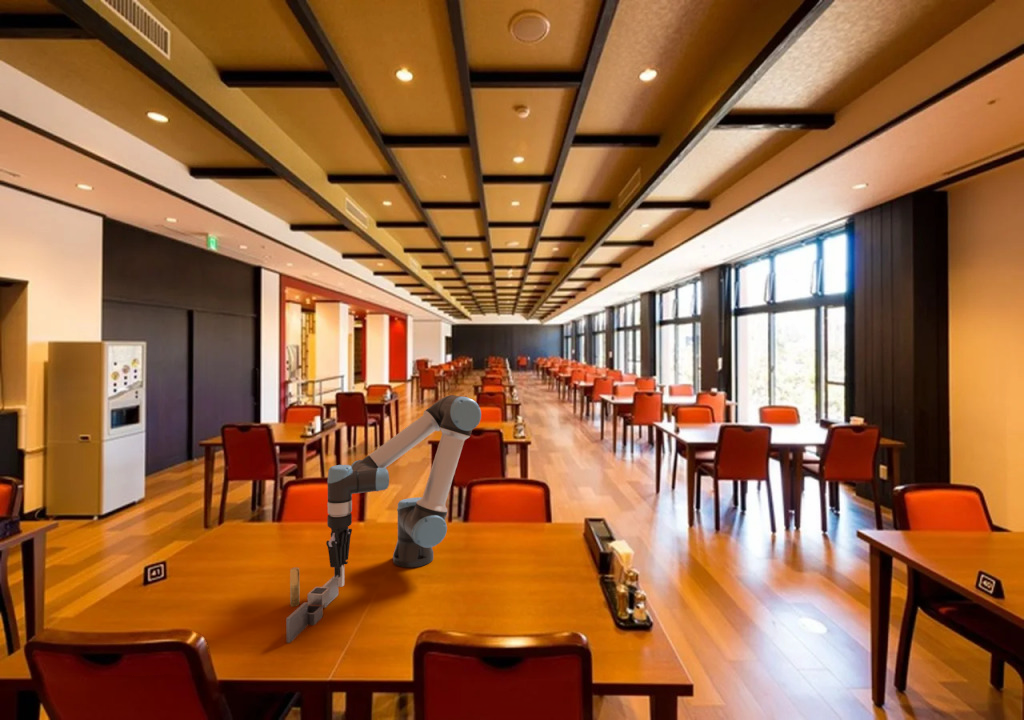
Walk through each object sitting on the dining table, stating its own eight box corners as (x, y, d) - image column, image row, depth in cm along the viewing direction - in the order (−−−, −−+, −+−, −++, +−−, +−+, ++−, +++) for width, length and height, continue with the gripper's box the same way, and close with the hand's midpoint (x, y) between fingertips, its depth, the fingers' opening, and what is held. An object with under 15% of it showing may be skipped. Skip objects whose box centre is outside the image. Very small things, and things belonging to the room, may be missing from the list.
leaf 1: (308, 615, 145) (308, 593, 145) (322, 616, 145) (322, 594, 145) (280, 642, 132) (280, 617, 132) (296, 643, 131) (296, 619, 131)
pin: (293, 602, 153) (293, 567, 153) (301, 602, 153) (301, 567, 153) (288, 606, 151) (288, 570, 151) (296, 606, 150) (296, 571, 150)
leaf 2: (330, 594, 158) (330, 574, 158) (343, 594, 158) (343, 575, 158) (307, 615, 145) (307, 593, 145) (322, 616, 144) (322, 594, 144)
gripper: (338, 507, 167) (338, 576, 167) (318, 519, 154) (318, 594, 154) (359, 508, 166) (359, 577, 166) (340, 520, 153) (340, 595, 153)
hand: (339, 585), depth 160 cm, fingers closed
